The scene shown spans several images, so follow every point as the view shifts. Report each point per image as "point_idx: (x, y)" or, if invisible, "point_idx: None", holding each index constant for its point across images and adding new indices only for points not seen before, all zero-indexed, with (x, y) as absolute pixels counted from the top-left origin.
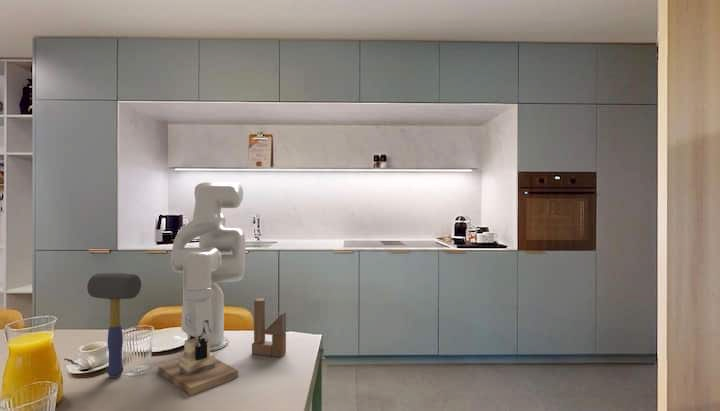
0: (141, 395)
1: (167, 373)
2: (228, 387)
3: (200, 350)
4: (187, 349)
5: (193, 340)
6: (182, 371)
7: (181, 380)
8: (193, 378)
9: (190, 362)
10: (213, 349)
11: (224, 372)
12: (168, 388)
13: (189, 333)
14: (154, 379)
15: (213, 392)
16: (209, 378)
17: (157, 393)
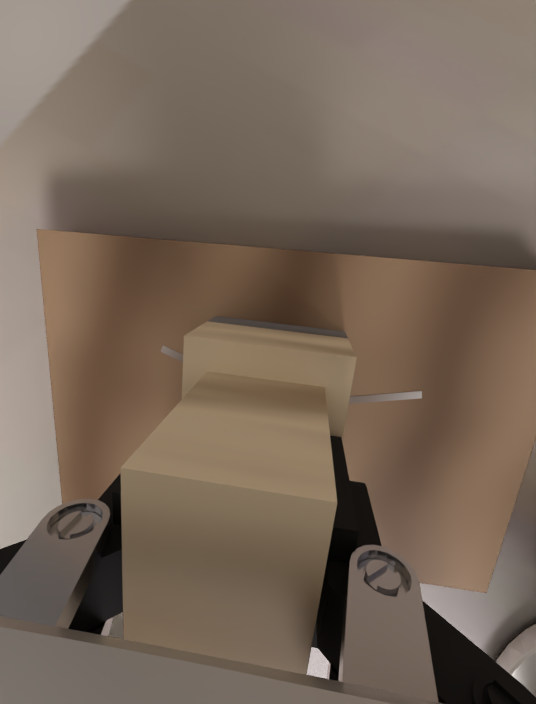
0: (314, 4)
1: (399, 259)
2: (20, 406)
3: (108, 489)
4: (243, 425)
5: (222, 576)
6: (299, 327)
7: (184, 249)
8: (151, 317)
9: (183, 360)
10: (508, 653)
11: (90, 472)
12: (259, 193)
13: (57, 679)
14: (473, 199)
15: (21, 330)
16: (79, 377)
17: (250, 104)
